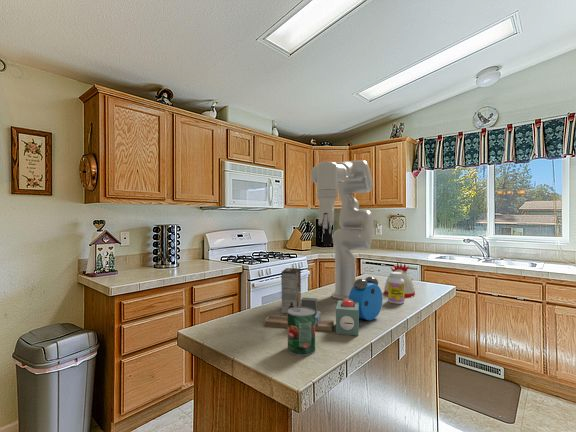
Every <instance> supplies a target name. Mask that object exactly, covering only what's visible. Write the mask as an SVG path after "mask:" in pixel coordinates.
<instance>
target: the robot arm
mask: <svg viewBox="0 0 576 432" xmlns="http://www.w3.org/2000/svg"><path fill="white" fill-rule="evenodd" d="M310 178H311V181H312V182H313V184H314V185H316V191H317V192H316V197H317V198H316V199H317V200H318V201H319V203H318V225H319V226H320V227H321V226H322V244H323V246H325V245H328V246H331V245H332V244H333V247H334V248H333V249H334V282H335V283H334V291H332V293H331V297H332V298H333V299H336V300H341V301H342V300H346V299H348V300H349V295H350V291H351V289H352V287H353V286H354V282H355V281H356V280H357V267H356V266H357V260H356V256H355V255H354V253H353V252H352V251H353V250H357V251H366V250H369V249H370V248H371V247H372V243H373V231H374V214H373V213H372V212H371V211H370V210H368V209H359V208H360V203H359V201H358V199H356V198H355V196H353V195H352V194H367V193H370V192H371V191H372V190H373V187H374V186H373V185H374V182H373V177H372V173H371V168H370V166H369V164H368V162H367V161H366V160H365V159H364V160H363V159H361V160H360V159H359V160H347V161H337V162H334V161H321V162H319V163H317V165H315V166H313V168H312V169H311V172H310ZM338 196H339V200H340V202H341V206H340V212H339V213H340V214H339V221H338V223H339V226H340V228H338V229H336V230H335V231H334V232H333V233H332V226H333V225H334V224H335V223H334V222H335V200H338ZM351 250H352V251H351Z"/></svg>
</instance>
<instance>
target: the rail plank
mask: <svg viewBox="0 0 576 432" xmlns="http://www.w3.org/2000/svg"><path fill="white" fill-rule="evenodd" d="M334 324H335V321H334V319H326V318H324V319H323V318H321V319H320V321H319V324H318V325H315V331H322V332H330V333H331V332H332V331H333V328H334ZM264 326H265V327H276V328H286V329H288V315H276V314H275V315H274V314H270V315H269V316H268V317H267V318H266V319H265V320H264Z"/></svg>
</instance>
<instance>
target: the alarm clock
mask: <svg viewBox="0 0 576 432" xmlns="http://www.w3.org/2000/svg"><path fill="white" fill-rule="evenodd" d="M383 299H384V298H383V292H382V290H381V287H380V286H379V280H378V279H377V278H376V277H374V276H368V277H366V278H365V279H364V278H356V281H355V282H354V286H353V287H352V289H351V291H350V295H349V300H353V301H357V302H359V319H363V320H366V321H374V320H375V319H376V318H377V317H378V316H379V314H380V312H381V309H382V306H383Z"/></svg>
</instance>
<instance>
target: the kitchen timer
mask: <svg viewBox="0 0 576 432" xmlns="http://www.w3.org/2000/svg"><path fill="white" fill-rule="evenodd" d="M393 267H394V268H393ZM393 267H391V266H390V268H391V272H401V273H402V279H403V280H404V298H412V297H411V296H413V297H415V296H416V289H415V287H414V282H413V278H411V276H410V274H408V272H407V271H408V269H409V265H408V266H407V265H406V263H404V265H402V263H400V265H399V262H397V263H396V265H395V264H393ZM389 278H391V273H389V275H388V277H387V278H386V282H385V285H384V288H383V289H384V290H383V292H384V294H385V295H387V294H388V280H389ZM414 295H415V296H414Z"/></svg>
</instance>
